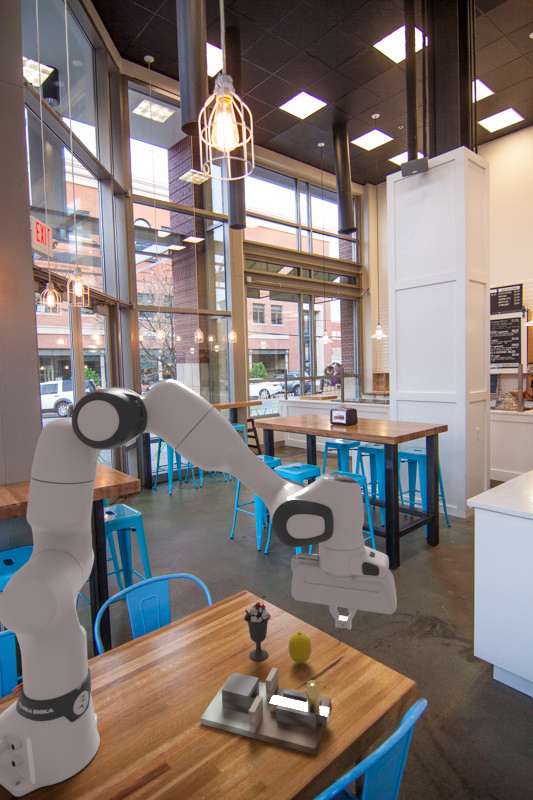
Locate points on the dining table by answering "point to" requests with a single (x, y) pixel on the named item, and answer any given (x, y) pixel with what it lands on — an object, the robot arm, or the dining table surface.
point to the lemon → (299, 647)
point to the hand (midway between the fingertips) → (343, 627)
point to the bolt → (310, 706)
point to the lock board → (264, 713)
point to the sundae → (258, 629)
